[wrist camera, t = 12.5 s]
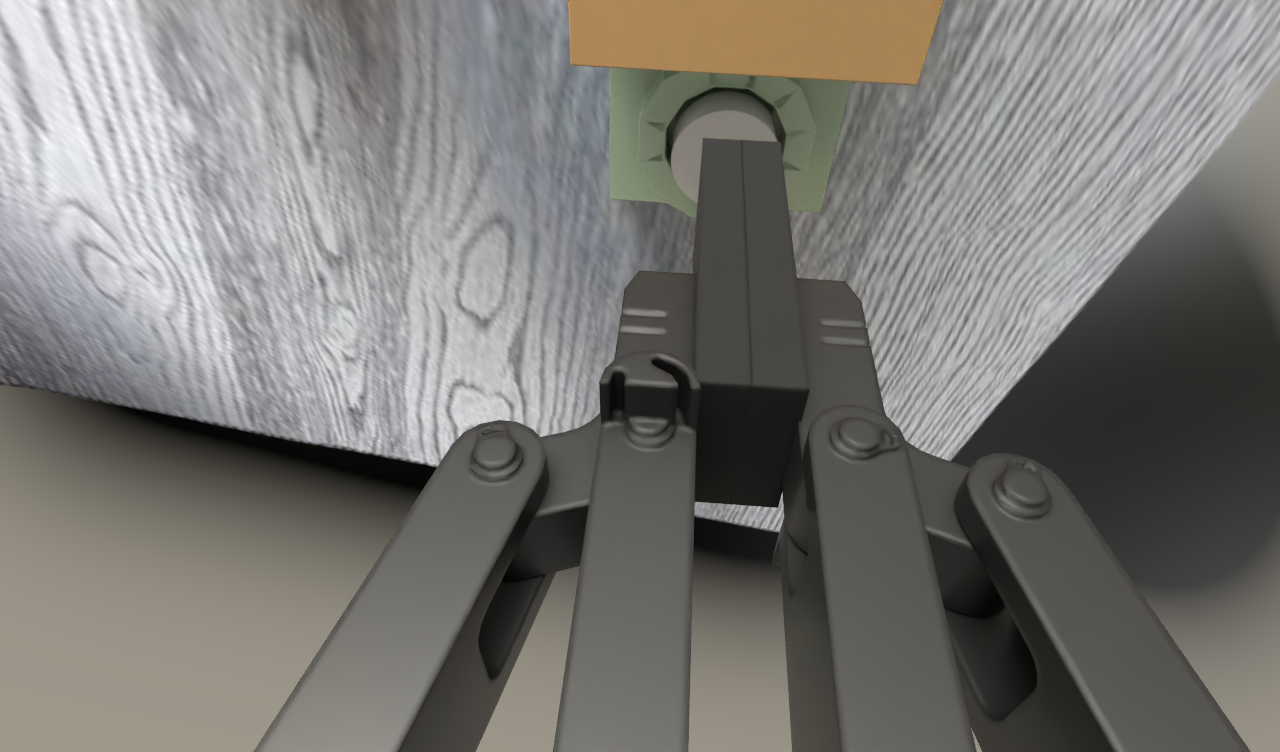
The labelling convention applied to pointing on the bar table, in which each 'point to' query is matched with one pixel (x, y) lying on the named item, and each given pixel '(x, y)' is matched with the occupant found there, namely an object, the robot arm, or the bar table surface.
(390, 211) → the bar table surface
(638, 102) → the green push button box
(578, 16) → the toilet lid
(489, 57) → the bar table surface
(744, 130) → the flush button
